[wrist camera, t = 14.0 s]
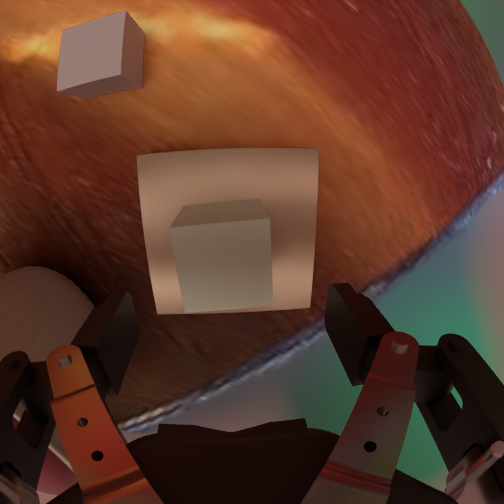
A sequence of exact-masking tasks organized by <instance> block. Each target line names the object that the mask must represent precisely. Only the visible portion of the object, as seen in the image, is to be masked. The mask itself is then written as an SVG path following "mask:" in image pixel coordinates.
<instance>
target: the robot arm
mask: <svg viewBox="0 0 504 504" xmlns="http://www.w3.org/2000/svg"><path fill="white" fill-rule="evenodd" d="M325 328H326V331H327V333H328V335H329V337H330V339H331V341H332V343H333V345H334V348H335V350H336V352H337V354H338V356H339V358H340V361H341V363H342V365H343V367H344V369H345V371H346V373H347V376H348V378H349V380H350V382H351V384H352V386H357V385H361V384H363V387H362V390H361V392H360V395H359V397H358V399H357V402H356V404H355V406H354V409H353V410H352V413H351V415H350V417H349V419H348V421H347V423H346V425H345V428H344V430H343V432H342V434H341V436H339V435H337V434H335V433H332V432H329V431H325V430H321V429H315V428H307V425H306V421H305V418H302V419H296V420H287V421H277V422H269V423H265V424H262V425H258V426H255V427H251V428H247V429H244V430H240V431H236V432H225V431H220V430H215V429H210V428H205V427H200V426H196V425H177V424H159V426H158V433H156V434H151V435H147V436H144V437H141V438H138V439H136V440H134V441H132V442H130V443H128V442H127V440H126V439H125V437H124V435H123V434H122V432H121V430H120V428H119V427H118V425H117V423H116V421H115V419H114V417H113V415H112V414H111V412H110V410H109V408H108V406H107V404H106V402H105V397H106V395H107V394H108V395H116V396H118V393H119V390H120V387H121V384H122V381H123V378H124V375H125V372H126V370H127V367H128V364H129V361H130V358H131V356H132V353H133V350H134V348H135V345H136V342H137V340H138V336H139V326H138V321H137V317H136V313H135V309H134V305H133V301H132V297H131V294H130V293H129V292H111V293H110V295H109V296H108V298H107V299H106V301H105V302H104V304H100V305H98V306H97V307H96V308H94V309H93V310H92V311H91V312H90V314H89V315H88V317H87V319H86V320H85V322H84V323H83V326H81V328H80V329H79V331H78V332H77V334H76V335H75V337H74V339H73V340H72V342H71V343H70V345H63V346H60V347H58V348H56V349H54V350H53V351H52V352H51V353H50V354H49V355H48V357H47V360H46V361H39V362H31V361H30V359H29V357H28V355H27V354H26V353H25V352H23V351H14V352H11V353H9V354H8V355H6V356H5V357H4V358H3V359H2V360H1V362H0V504H40V501H39V496H38V494H37V492H36V490H37V486H38V482H39V478H40V474H41V470H42V467H43V463H44V460H45V457H46V453H47V450H48V447H49V444H50V441H51V438H52V435H53V432H54V429H55V426H56V425H57V428H58V431H59V434H60V437H61V440H62V443H63V446H64V449H65V452H66V454H67V457H68V459H69V462H70V465H71V467H72V469H73V472H74V474H75V477H76V479H77V481H78V482H76V483H75V484H74V485H72V486H71V487H70V488H68V489H67V490H65V491H64V492H62V493H61V494H60V495H58V496H57V497H55V498H54V499H52V500H51V501H49V502H48V503H46V504H504V385H503V384H502V382H501V381H500V380H499V378H498V377H497V376H496V375H495V373H494V372H493V371H492V369H491V368H490V367H489V366H488V364H487V363H486V362H485V361H484V360H483V358H482V357H481V356H480V355H479V353H478V352H477V351H476V350H475V349H474V347H473V346H472V345H471V344H470V343H469V342H468V341H467V340H466V339H465V338H464V337H462V336H460V335H457V334H445V335H442V336H441V337H440V339H439V342H438V344H437V346H422V345H419V343H418V342H417V340H416V339H415V338H414V337H412V336H411V335H409V334H406V333H404V332H397V331H395V330H394V329H393V328H392V326H391V325H390V324H389V322H388V321H387V320H386V319H385V317H384V316H383V315H382V314H381V313H380V311H379V310H378V308H376V306H375V305H374V303H373V302H372V301H371V300H370V299H369V298H368V297H366V296H364V295H363V294H361V293H356V292H355V290H354V289H353V288H352V286H351V285H350V284H349V283H335V284H330V285H329V288H328V295H327V303H326V311H325ZM453 387H455V389H456V390H457V392H458V393H459V395H460V396H461V398H462V402H463V407H462V409H461V408H460V406H459V404H458V403H457V401H456V400H455V399H454V396H453V395H452V393H451V390H452V388H453ZM19 402H20V403H21V404H22V405H23V407H24V408H25V410H24V412H23V414H22V417H21V419H20V421H19V423H18V426H17V428H16V429H15V427H14V424H13V415H14V413H15V411H16V408H17V406H18V404H19ZM414 402H416V404H417V406H418V408H419V410H420V412H421V414H422V416H423V418H424V420H425V422H426V424H427V426H428V428H429V430H430V432H431V434H432V436H433V438H434V441H435V442H436V445H437V447H438V449H439V451H440V453H441V456H442V458H443V460H444V462H445V464H446V467H447V469H448V471H449V473H448V476H447V478H446V488H445V491H444V492H442V491H440V490H437V489H435V488H433V487H431V486H429V485H427V484H425V483H423V482H420V481H419V480H417V479H415V478H413V477H411V476H409V475H407V474H405V473H403V472H401V471H400V470H397V469H396V466H397V463H398V459H399V456H400V453H401V450H402V447H403V443H404V440H405V436H406V433H407V429H408V425H409V421H410V417H411V413H412V408H413V404H414Z"/></svg>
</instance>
